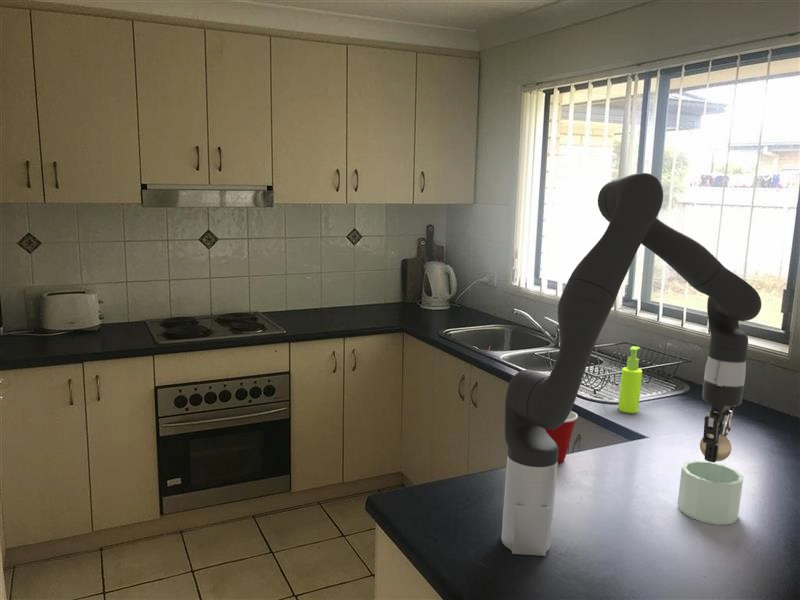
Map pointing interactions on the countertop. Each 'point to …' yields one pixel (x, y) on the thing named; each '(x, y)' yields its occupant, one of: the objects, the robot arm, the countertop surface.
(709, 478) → the ceramic cup
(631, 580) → the countertop surface
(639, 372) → the soap dispenser
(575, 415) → the plastic cup
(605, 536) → the countertop surface
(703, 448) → the wooden ball
